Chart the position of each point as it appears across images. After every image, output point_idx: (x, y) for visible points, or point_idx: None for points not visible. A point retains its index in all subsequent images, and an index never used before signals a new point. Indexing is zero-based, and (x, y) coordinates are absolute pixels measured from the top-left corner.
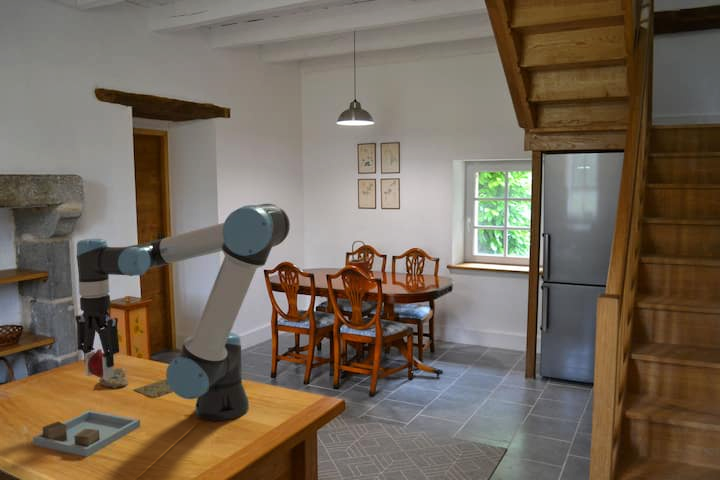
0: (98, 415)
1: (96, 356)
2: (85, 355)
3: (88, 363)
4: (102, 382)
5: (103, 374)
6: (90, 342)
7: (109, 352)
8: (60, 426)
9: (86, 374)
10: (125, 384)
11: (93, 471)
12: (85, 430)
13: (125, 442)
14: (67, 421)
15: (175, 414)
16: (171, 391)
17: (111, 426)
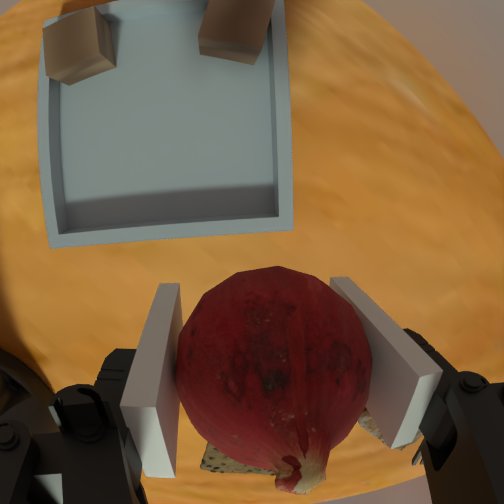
0: (229, 218)
1: (266, 396)
2: (429, 361)
3: (330, 301)
4: None
5: (174, 299)
6: (458, 499)
7: (23, 447)
8: (210, 21)
9: (351, 280)
10: (358, 420)
11: (9, 15)
12: (86, 45)
13: (32, 149)
14: (286, 118)
15: (66, 353)
16: (208, 446)
17: (141, 197)
